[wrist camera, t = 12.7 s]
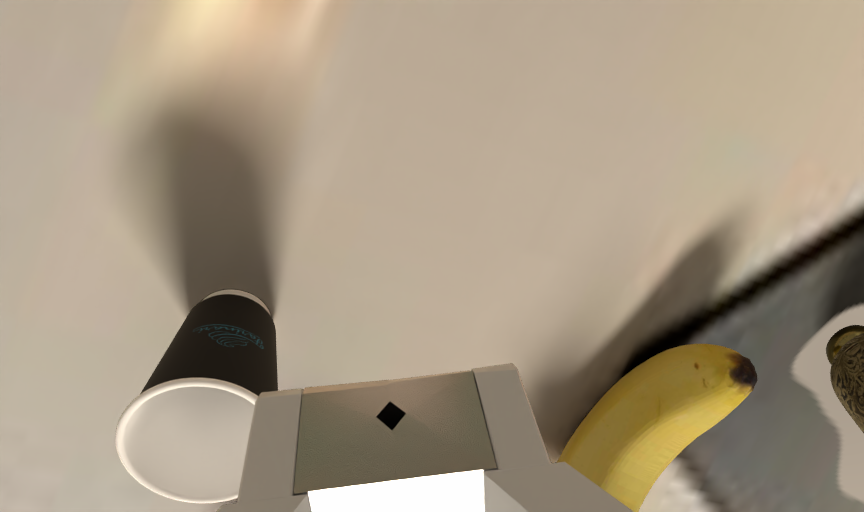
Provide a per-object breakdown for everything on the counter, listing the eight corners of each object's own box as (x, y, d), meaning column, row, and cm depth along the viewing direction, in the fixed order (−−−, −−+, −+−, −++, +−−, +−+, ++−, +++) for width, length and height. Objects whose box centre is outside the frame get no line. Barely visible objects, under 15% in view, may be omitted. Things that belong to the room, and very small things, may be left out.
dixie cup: (200, 386, 44) (161, 522, 35) (143, 289, 41) (82, 410, 31) (315, 352, 44) (307, 479, 35) (269, 250, 40) (246, 360, 31)
